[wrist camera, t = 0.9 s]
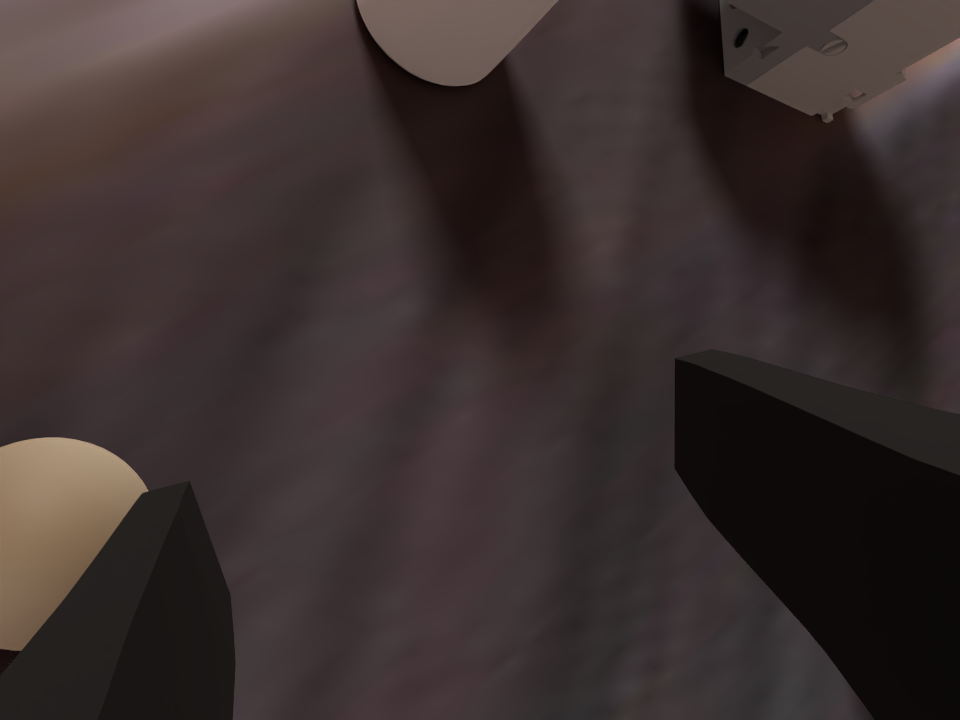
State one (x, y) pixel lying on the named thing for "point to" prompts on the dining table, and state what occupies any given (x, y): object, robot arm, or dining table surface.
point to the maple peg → (54, 524)
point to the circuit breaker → (831, 47)
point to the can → (450, 34)
